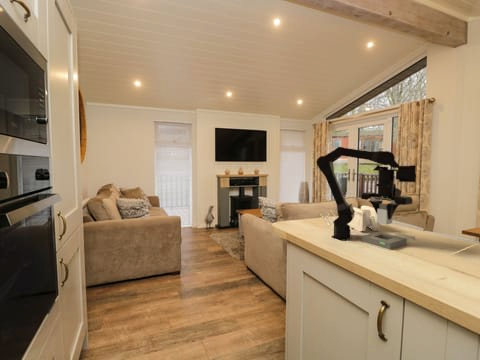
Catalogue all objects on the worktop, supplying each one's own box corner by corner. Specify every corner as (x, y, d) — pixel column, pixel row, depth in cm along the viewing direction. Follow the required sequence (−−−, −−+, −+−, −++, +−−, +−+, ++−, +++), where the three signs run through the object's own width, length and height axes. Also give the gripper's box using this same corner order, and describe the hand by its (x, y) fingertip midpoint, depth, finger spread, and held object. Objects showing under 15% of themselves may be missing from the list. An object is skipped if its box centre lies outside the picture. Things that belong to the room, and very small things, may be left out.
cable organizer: (381, 233, 124) (382, 209, 124) (361, 234, 123) (361, 210, 122) (363, 225, 139) (363, 204, 138) (344, 226, 138) (345, 205, 137)
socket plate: (361, 242, 110) (362, 235, 110) (378, 238, 116) (378, 231, 116) (389, 250, 100) (390, 243, 100) (406, 245, 106) (406, 238, 106)
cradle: (386, 238, 116) (386, 234, 116) (396, 235, 120) (396, 232, 120) (405, 243, 109) (405, 239, 109) (415, 240, 113) (415, 236, 113)
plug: (376, 222, 108) (377, 204, 108) (382, 221, 110) (383, 203, 110) (386, 224, 105) (387, 205, 104) (391, 223, 107) (392, 204, 106)
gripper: (420, 182, 102) (418, 220, 103) (376, 179, 118) (374, 212, 120) (405, 183, 97) (403, 223, 98) (360, 180, 113) (359, 215, 114)
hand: (384, 218), depth 108 cm, fingers closed on plug, 4 cm apart
